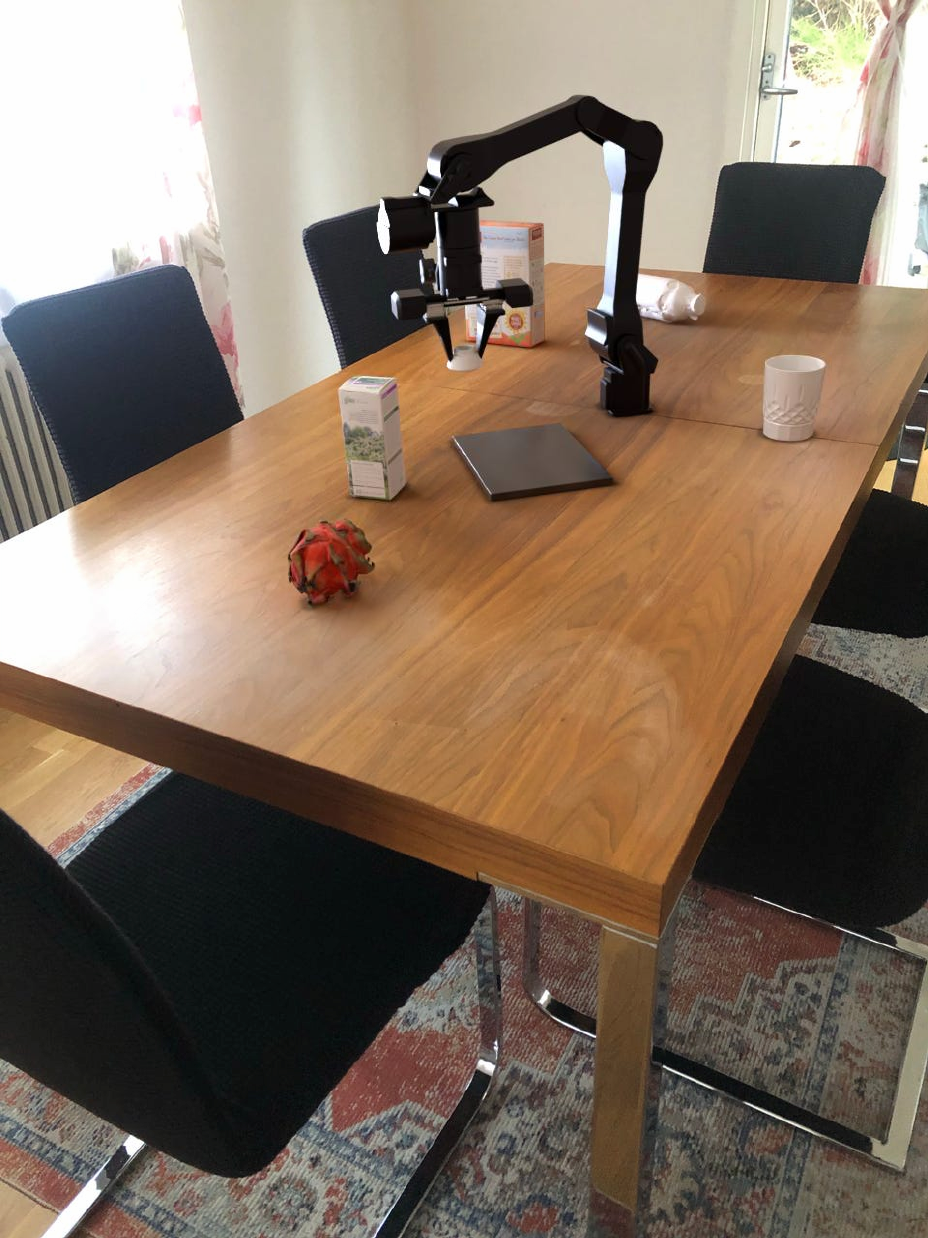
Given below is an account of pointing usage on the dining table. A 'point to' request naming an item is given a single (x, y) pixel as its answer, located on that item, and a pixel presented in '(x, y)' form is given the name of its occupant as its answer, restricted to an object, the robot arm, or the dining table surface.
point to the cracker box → (510, 257)
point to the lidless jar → (465, 359)
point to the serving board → (530, 461)
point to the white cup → (791, 396)
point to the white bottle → (667, 299)
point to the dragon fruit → (329, 560)
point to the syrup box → (372, 436)
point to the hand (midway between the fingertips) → (465, 361)
